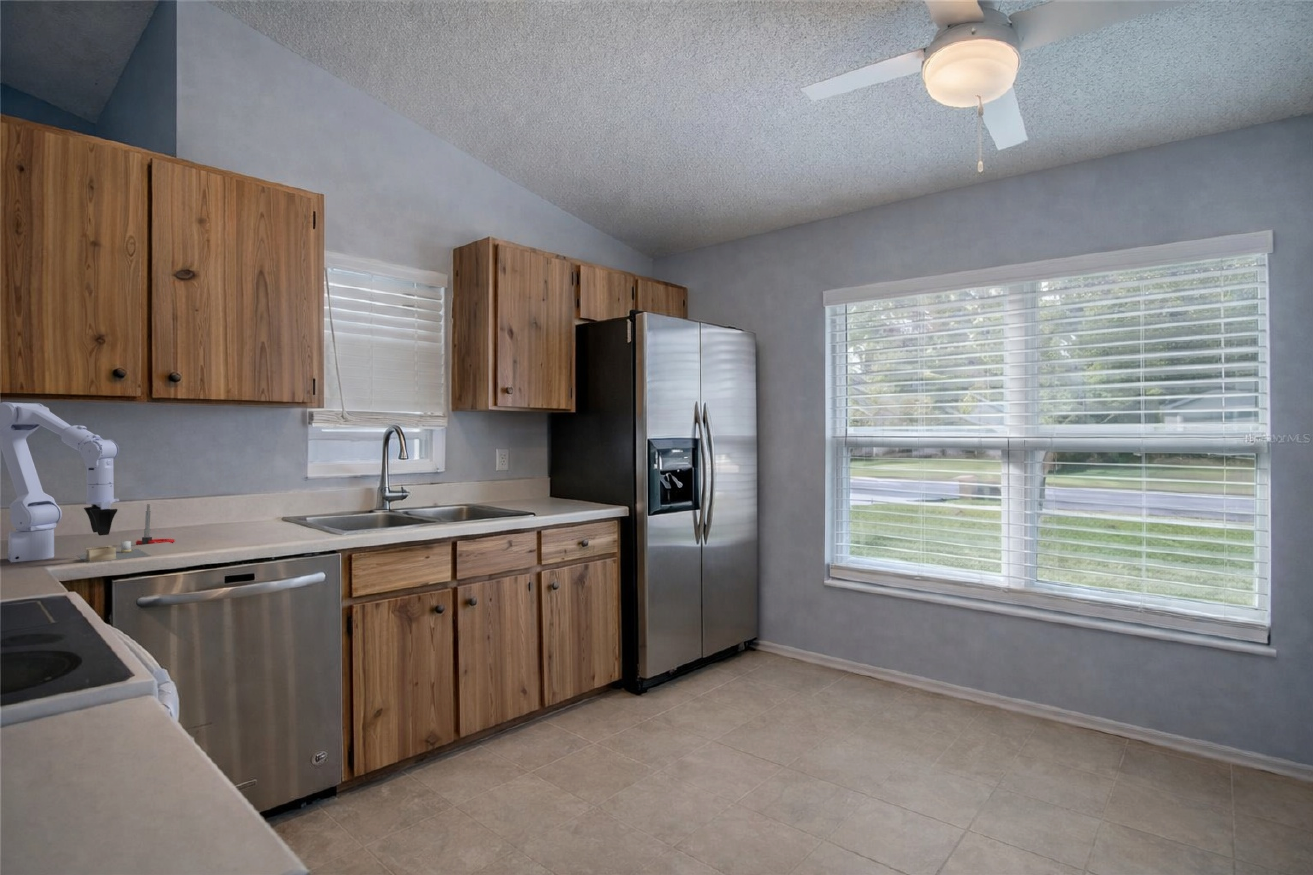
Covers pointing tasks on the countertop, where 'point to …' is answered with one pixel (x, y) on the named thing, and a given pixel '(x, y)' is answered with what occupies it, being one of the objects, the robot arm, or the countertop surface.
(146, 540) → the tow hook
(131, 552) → the post mat
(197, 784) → the countertop surface
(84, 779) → the countertop surface
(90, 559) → the collar
